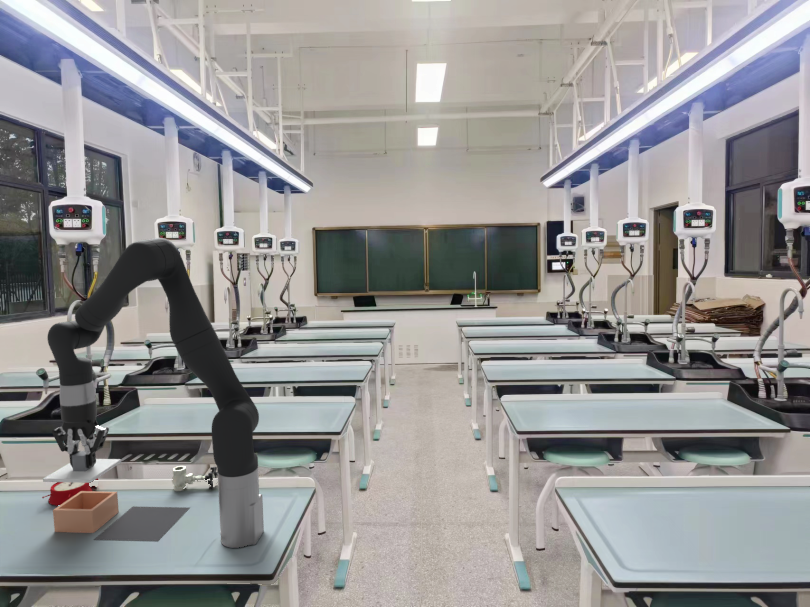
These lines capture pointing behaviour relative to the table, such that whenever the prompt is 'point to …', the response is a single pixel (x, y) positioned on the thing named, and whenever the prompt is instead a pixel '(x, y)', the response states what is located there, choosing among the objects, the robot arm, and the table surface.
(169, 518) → the mat
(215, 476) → the valve
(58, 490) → the alarm clock
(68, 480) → the lid
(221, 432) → the robot arm
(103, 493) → the tub
